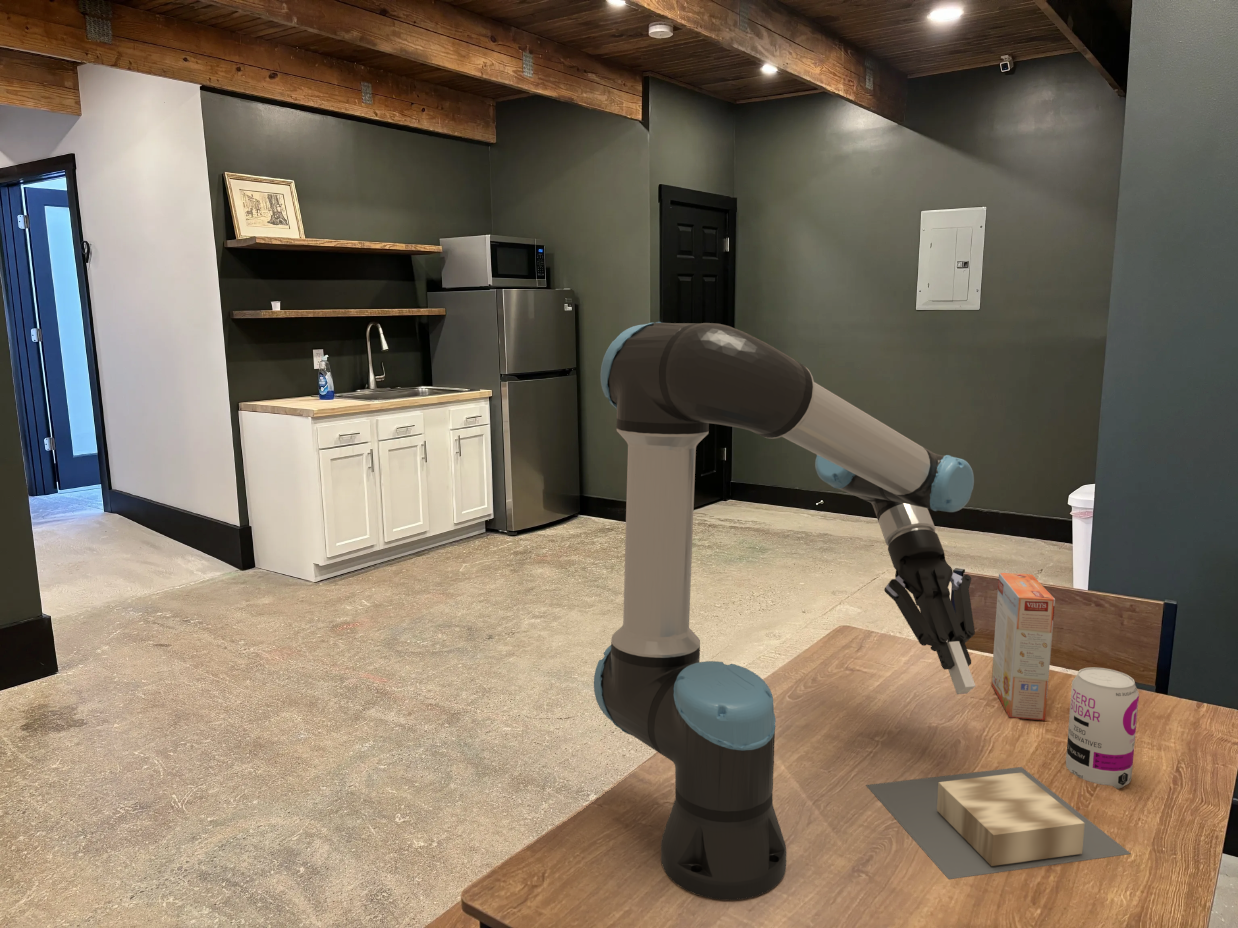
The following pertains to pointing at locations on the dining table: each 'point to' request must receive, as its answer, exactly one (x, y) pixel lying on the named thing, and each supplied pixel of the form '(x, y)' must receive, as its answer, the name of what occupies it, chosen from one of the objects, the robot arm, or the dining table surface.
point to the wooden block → (1010, 819)
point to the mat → (946, 845)
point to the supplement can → (1102, 726)
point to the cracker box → (1022, 645)
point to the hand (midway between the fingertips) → (966, 689)
